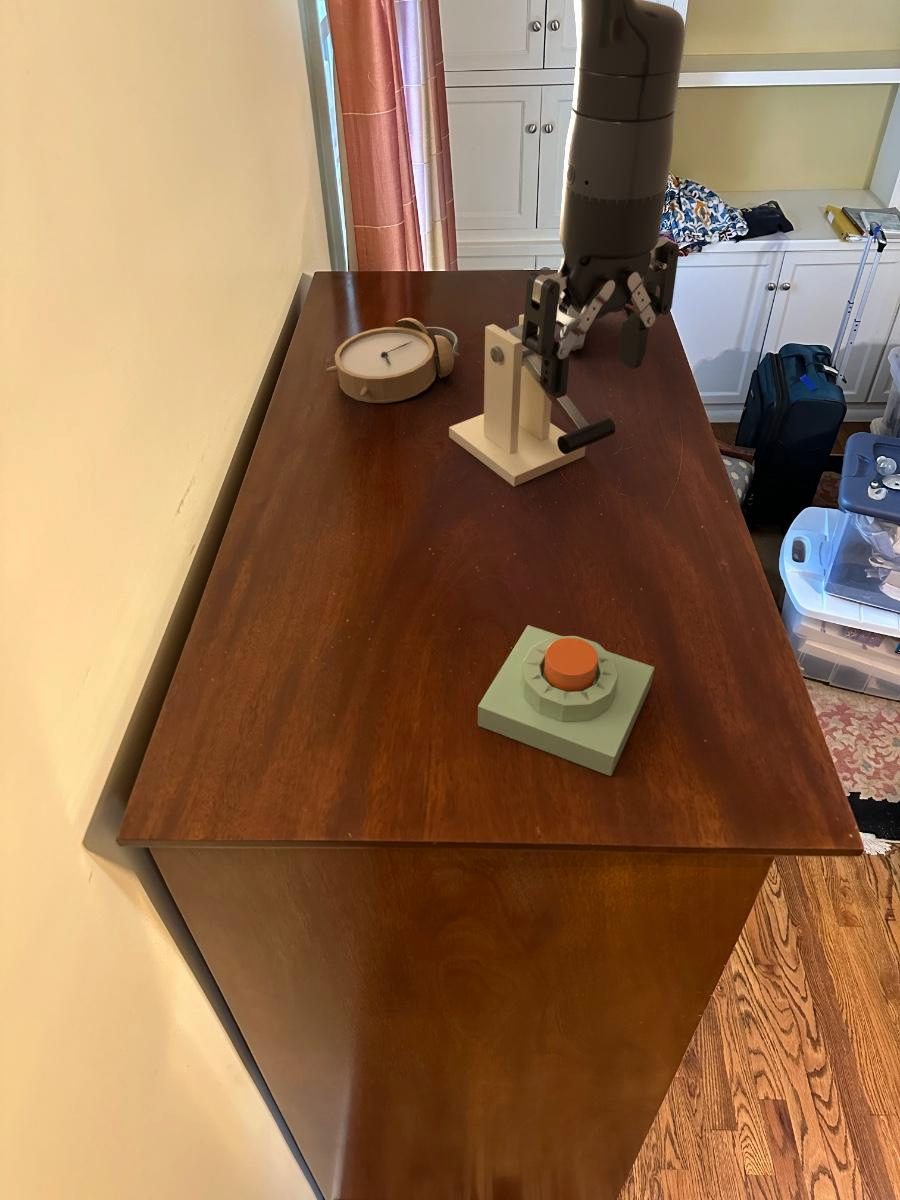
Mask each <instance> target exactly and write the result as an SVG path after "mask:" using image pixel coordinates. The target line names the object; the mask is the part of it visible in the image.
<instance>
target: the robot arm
mask: <svg viewBox="0 0 900 1200" xmlns="http://www.w3.org/2000/svg"><path fill="white" fill-rule="evenodd" d="M573 9H574V19H575V30H576V56H575V65H574V67H575V68H574V81H573V94H572V108H571V116H570V121H569V126H568V132H567V136H566V143H565V153H564V154H565V155H564V167H563V182H562V193H561V206H560V207H561V208H560V220H559V221H560V222H559V240H560V243H561V246H562V249H563V257H564V260H563V263H562V266H561V265H560V266H561V268H560V267H559V268H560V270H559V273H558V272H555V273H550V274H547V275H544V274H542V273H541V272H539V271H535V270H534V271H532V272H531V273H530V274H528V277H527V281H526V291H525V302H524V312H523V314H524V321H523V331H522V345H523V346H525V347H526V348H528V349H530V350H531V351H533V352H535V353H536V354H538V355H540V356H541V357H542V361H541V377H540V383H541V386H542V387H543V388H544V390H545V391H546V392H547V393H549V394H551V395H552V396H554V397H555V398H560V397H563V396H565V395H567V391H568V381H569V369H570V358H571V357H570V356H569V354H570V352H571V351H570V350H571V348H572V347H573V345H574V343H575V341H576V340H577V338H578V337H579V336H580V335H584V334H585V333H586V334H587V332H588V331H589V329H590V327H591V326H592V324H593V322H594V321H596V320H598V319H602V318H603V317H605V316H606V315H608V314H609V313H610V314H611V313H618V312H623V314H624V316H625V317H626V318H627V320H626V319H625V320H623V321H622V325H621V331H620V332H621V334H620V340H619V348H618V358H617V359H618V362H619V363H620V364H621V365H624V367H627V368H629V369H630V370H635V369H638V368H640V367H641V366H642V363H643V359H644V357H645V355H646V351H647V342H648V336H649V332H650V327H652V326H653V325H654V324H655V322H656V318H657V317H659V316H660V315H663V316H666V315H668V314H669V313H670V311H671V310H672V308H673V301H674V293H675V285H676V278H677V269H678V262H679V253H680V246H679V244H678V243H676V242H673V241H671V240H669V239H667V238H664V237H661V236H660V233H661V227H662V222H663V221H662V220H663V214H664V208H665V200H666V194H667V188H668V181H669V176H670V175H669V174H670V168H671V160H672V155H673V147H674V145H673V144H674V118H675V109H676V102H677V94H678V88H679V83H680V82H679V81H680V74H681V69H682V63H683V55H684V47H685V41H686V40H685V39H686V25H685V21H684V18H683V16H682V14H681V13H680V12H679V11H678V10H676V9H675V8H673V7H672V6H669V5H666V4H662V3H659V2H654V1H649V0H573ZM657 286H658V289H659V294H657ZM570 305H572V307H573V309H574V310H575V311H576V312H578V313H580V315H579V316H578V317H576V318H572V317H570V316H568V315H567V311H568V309H569V307H570ZM564 326H566V330H565V332H564V334H563V335H562V337H561V336H560V339H558V336H559V335H560V331H561V329H562V328H563V327H564ZM538 327H539V334H538Z"/></svg>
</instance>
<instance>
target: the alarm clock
mask: <svg viewBox="0 0 900 1200" xmlns="http://www.w3.org/2000/svg"><path fill="white" fill-rule="evenodd" d="M430 336H433V340H432V339H431V338H430ZM449 340H450V341H452V342H453V343H454V344H453V345H452V343H451V342H450V341H449ZM458 349H459V341H458V336H457V335H456V333H454V332H453V331H452V330H450V329H447V328H445V327H441V326H440V327H439V326H427V327H426V326H425V325H424V324H423V323H422V322H421V321H419V320H417V319H414V318H412V317H404V318H402V319H399V320H397V321H396V322H395V324H393V326H385V327H379V328H372V329H369V330H366V331H362V332H360V333H357V334H354V335H353V336H351V337H350V338H347V339H345V341H344V342H342V344H340V345H339V346H338V347H337V350H336V351H335V353H334V362H335V365H333V366H329V367H327V368H326V372H327V373H336V372H337V375H338V381H339V387H340V389H341V390H342V391H343V393H344V394H345V395H346V396H348V397H350V398H352V399H354V400H356V401H360V402H364V403H369V404H389V403H394V402H395V403H396V402H402V401H404V400H408V399H410V398H413V397H415V396H417V395H419V394H421V393H423V392H424V391H426V390H428V388H429V387H430V386H432V384H433V383H434V382H435V380H436V376H437V373H438V376H439V378H440V379H442V378H446V377H447V376H449V375H450V373H451V372H452V371H453V368H454V365H455V360H456V358H459V355H460V354H459V352H457V351H458Z"/></svg>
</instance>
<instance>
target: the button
mask: <svg viewBox="0 0 900 1200" xmlns="http://www.w3.org/2000/svg"><path fill="white" fill-rule="evenodd" d="M597 663H598V655H597V652H596V650H595V649H594V648H593V647H592V646H591V645H590V644H589V643H587V642H586V641H584V640H581V639H577V638H562V639H558V640H556V641H554V642H553V643H551V644H550V645H549V647H548V648H547V650H546V654H545V665H544V674H545V677H546V679H547V681H548V682H549V683H550V684H551V685H552V686H554V687H555V688H557V689H560V690H563V691H567V692H577V691H581V690H584V689H586V688H588V687H589V686H590V685H591V684H592V683H593V682H594V680H595V676H596V670H597Z"/></svg>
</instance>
